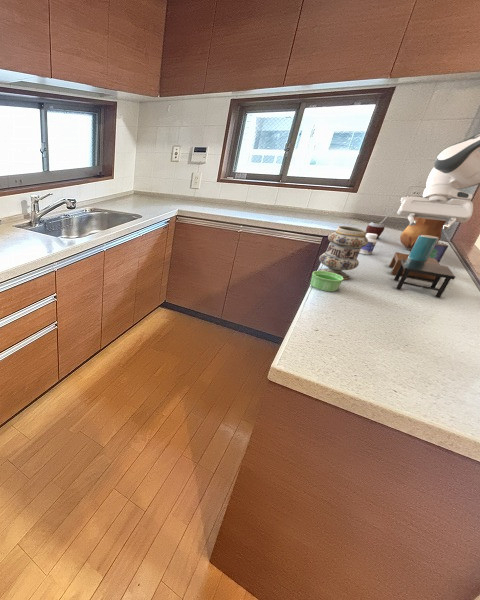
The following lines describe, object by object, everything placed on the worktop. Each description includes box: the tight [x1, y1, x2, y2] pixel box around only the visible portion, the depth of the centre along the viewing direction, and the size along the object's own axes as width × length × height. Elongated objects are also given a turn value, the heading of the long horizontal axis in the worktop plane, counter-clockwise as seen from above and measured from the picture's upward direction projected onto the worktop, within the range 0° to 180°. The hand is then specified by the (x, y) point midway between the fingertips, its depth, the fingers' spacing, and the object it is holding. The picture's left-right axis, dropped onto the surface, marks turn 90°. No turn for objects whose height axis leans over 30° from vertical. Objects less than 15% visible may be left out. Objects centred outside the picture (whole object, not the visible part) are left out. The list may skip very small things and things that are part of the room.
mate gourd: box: [365, 211, 397, 240], centre depth 171 cm, size 8×8×15 cm
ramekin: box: [310, 270, 345, 292], centre depth 113 cm, size 9×9×4 cm
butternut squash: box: [399, 217, 447, 251], centre depth 150 cm, size 14×13×25 cm
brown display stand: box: [388, 252, 441, 283], centre depth 126 cm, size 12×12×6 cm
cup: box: [408, 235, 439, 262], centre depth 123 cm, size 5×5×9 cm
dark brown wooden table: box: [393, 259, 456, 299], centre depth 113 cm, size 12×12×8 cm
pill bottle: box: [359, 233, 378, 255], centre depth 149 cm, size 5×5×9 cm
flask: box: [429, 241, 449, 264], centre depth 137 cm, size 9×3×11 cm, turn 58°
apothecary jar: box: [317, 225, 368, 280], centre depth 121 cm, size 12×12×18 cm
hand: (428, 226), depth 125 cm, fingers open, 8 cm apart
